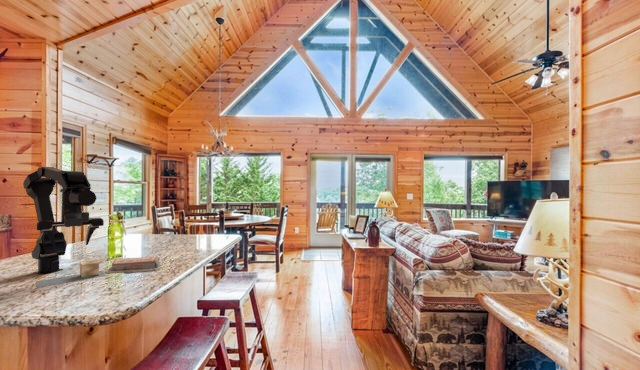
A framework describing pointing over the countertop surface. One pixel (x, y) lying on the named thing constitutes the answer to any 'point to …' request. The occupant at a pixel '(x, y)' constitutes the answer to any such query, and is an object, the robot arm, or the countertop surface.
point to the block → (89, 269)
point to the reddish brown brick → (134, 265)
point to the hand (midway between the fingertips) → (71, 246)
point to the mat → (64, 280)
